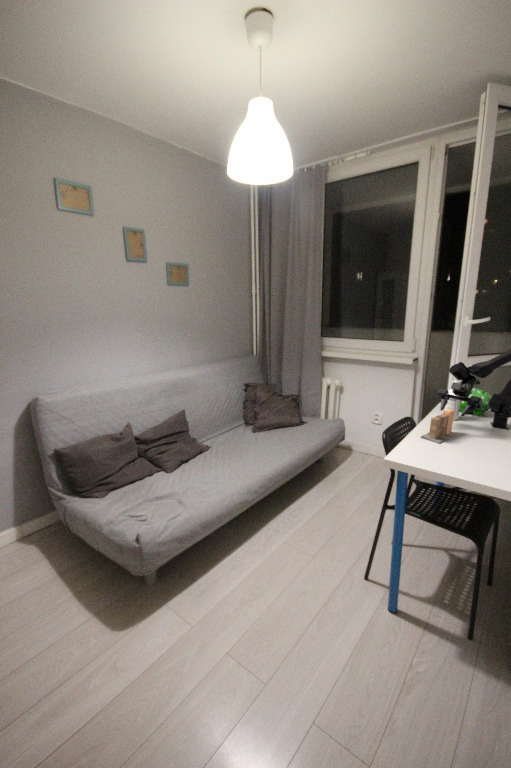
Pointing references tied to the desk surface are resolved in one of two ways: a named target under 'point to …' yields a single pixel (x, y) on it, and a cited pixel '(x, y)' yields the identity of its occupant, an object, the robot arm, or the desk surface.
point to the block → (449, 420)
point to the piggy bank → (485, 400)
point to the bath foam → (453, 404)
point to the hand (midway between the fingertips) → (451, 412)
